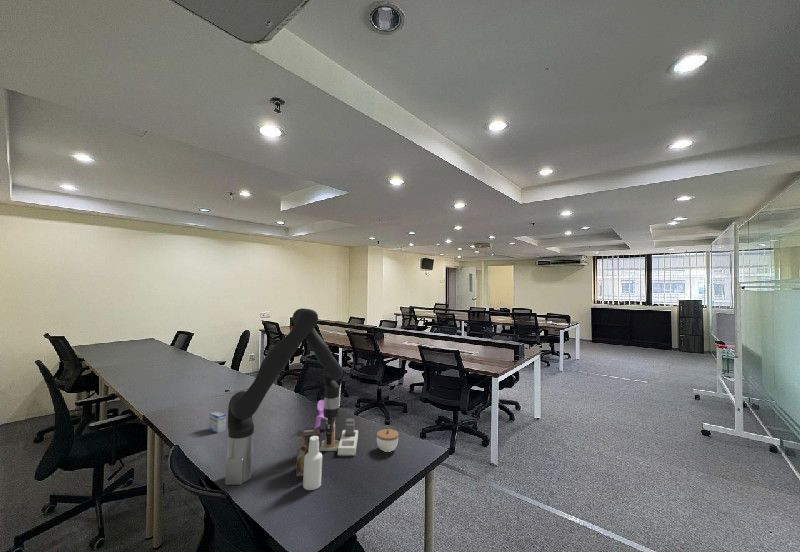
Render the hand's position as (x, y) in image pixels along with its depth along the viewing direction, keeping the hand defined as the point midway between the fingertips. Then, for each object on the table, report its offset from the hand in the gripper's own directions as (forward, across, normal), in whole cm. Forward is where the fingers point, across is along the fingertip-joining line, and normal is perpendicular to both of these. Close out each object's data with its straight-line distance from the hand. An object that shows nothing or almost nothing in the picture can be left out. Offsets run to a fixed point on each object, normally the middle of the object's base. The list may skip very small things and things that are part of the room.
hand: (330, 440), depth 154 cm
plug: (+3, 0, 0) cm, 3 cm away
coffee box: (+3, -21, +6) cm, 22 cm away
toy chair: (+3, +23, +7) cm, 24 cm away
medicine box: (+3, +20, +63) cm, 66 cm away
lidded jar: (+3, -2, -28) cm, 28 cm away
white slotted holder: (+3, +1, -9) cm, 10 cm away
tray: (+3, 0, 0) cm, 3 cm away
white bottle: (+3, -31, +2) cm, 31 cm away
